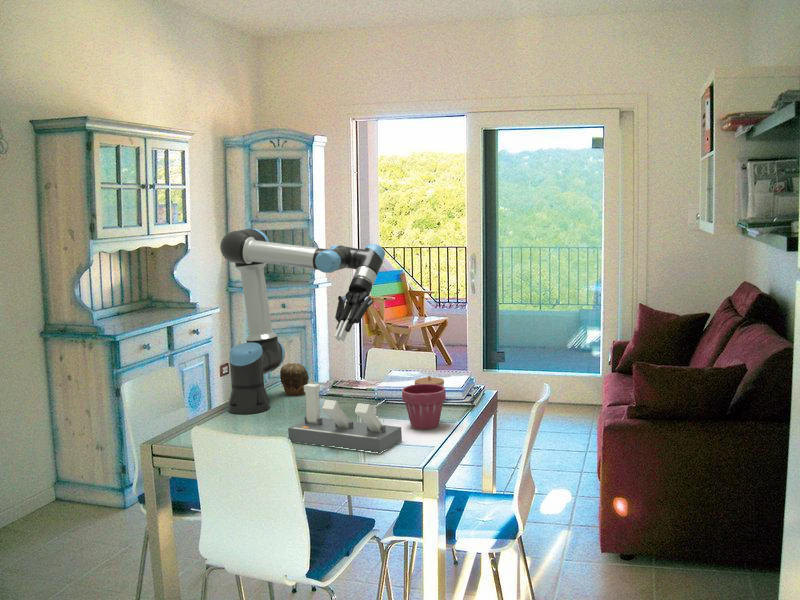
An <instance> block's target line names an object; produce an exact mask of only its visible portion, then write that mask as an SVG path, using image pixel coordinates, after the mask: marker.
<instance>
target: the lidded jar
mask: <svg viewBox="0 0 800 600" xmlns="http://www.w3.org/2000/svg"><path fill="white" fill-rule="evenodd" d="M416 384H437V385H441V386H443V387H445V385H444V384H445V380H444V379H443V378H441V377H433V376H431V375H428V376H427V377H426V376H425V377H419V378H418V379H415V380H414V385H416Z"/></svg>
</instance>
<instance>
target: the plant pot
mask: <svg viewBox="0 0 800 600" xmlns="http://www.w3.org/2000/svg"><path fill="white" fill-rule="evenodd" d="M401 397H402V402H403V403H404V404H405V408H406V411H407V415H408V418H409V421H410V425H411V426H410V427H411V428H412V429H414V430H418V429H419V430H420V431H423V430H425V431H428V430H433V429H437V428H438V427H439V426H440V421H441V414H442V410H443V406H444V405H443V403H444V401H446V398H447V397H446V388H445V386H444V387H443V386H441V385H437V384H416V385H415V384H411V385H407V386H405V387H403V388H402V389H401Z"/></svg>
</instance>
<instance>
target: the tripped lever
mask: <svg viewBox="0 0 800 600" xmlns="http://www.w3.org/2000/svg"><path fill="white" fill-rule="evenodd" d="M320 387H321V385H320V383H319V384H317V383H308V384H307V385H304V392H305V408H306V409H305V411H306V416H307V422H308V423H317V424H318V419H319V418H321V412H320V411H321V410H320V408H321V407H320V391H321V388H320Z"/></svg>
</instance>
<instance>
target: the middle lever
mask: <svg viewBox="0 0 800 600" xmlns="http://www.w3.org/2000/svg"><path fill="white" fill-rule="evenodd" d="M321 409H322V410H323V411H324V412H326V413H327V414H328V415H329V417H330V419H333V420H334V422H335V423H336V424H337V426H339V427H349V422H350V421H351V420H350V418H349V417H348V416H347V415H346V414H345V411H343V410H342V408H341V407H340V403H339V402H338V401H337V400H333V399H331V400H330V399H325V400H324V402H323V404H322V407H321Z"/></svg>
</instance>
